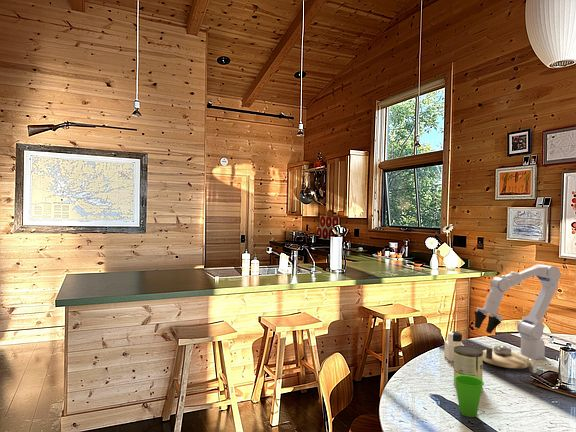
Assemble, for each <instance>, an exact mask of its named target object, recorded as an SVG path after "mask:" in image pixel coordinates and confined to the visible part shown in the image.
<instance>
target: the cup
mask: <svg viewBox="0 0 576 432" xmlns="http://www.w3.org/2000/svg"><path fill="white" fill-rule="evenodd" d="M454 380H455V382H456V387H455V389H456V393H457V395H456V396H457V400H458V401H457V402H458V408H459V413H460V414H461V415H462V416H465V417H470V418H475V417H476V416H477V414H478V411H479V406H480V401H481V396H482V390H483V389H482V388H483V386H484V385H485V382H484V380H483V379H482V380H481V379H480V378H477V377H474V376H470V375H457V376H455V377H454V376H453V381H454Z"/></svg>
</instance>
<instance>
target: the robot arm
mask: <svg viewBox="0 0 576 432" xmlns="http://www.w3.org/2000/svg"><path fill="white" fill-rule="evenodd" d="M533 277H536V278H537V279H538V281H539V282H540V283H541V285H542V286H541V288H540V291H539V292H538V295H537V297H536V300H535V301H534V304H533V306H532V307H531V310H530V311H529V314H528V315H526V316H524V317H523V318H522V320H520V321H519V322H518V324H517V329H516V330H517V332H518V333H519V336H520V352H518V353H519V354H521V355H524V356H526V357H528V358H529V359H534V360H543V359H547V358H546V356H545V353H546V352H545V351H546V350H545V348H546V346H545V341H544V339H543V338H542V337H543V336H544V335H543V334H544V328H545V324H544V323H543V318H544V316H545V314H546V312H547V310H548V308H549V305H550V304H551V301H552V299H553V297H554V295H555V293H556V291H557V289H558V285H559V280H560V279H561V277H562V273H561V271H560V268H559V267H558V266H556V265H549V264H548V265H547V264H542V263H537V264H534V265H532V266H530V267H529V268H526V269H524V270H522V271H519V272H516V271H510V272H509V273H508V274H505V275H504V274H503V275H501V276H500V277H497V276H496V277H493V278H492V279H491V280H490V282H489V285H490V288H489V292H488V296H487V298H486V301H485V303H484V306H483V308H482V307H479V306H477V307H476V309H475V310H474V312H473V313H474V317H475V318H474V319H475V320H474V328H476V329H480V328H481V327H482V324H483V322H484V321H485V319H486V318H487V317H488V322H487V327H486V330H485V332H486V333H488V334H492V333H493V332H494V330H495V329H496V328H497V327H498V326H499V325H500V324H501V323H502V320H503V315H501V314H499V313H498V311H499V307H500V305H501V302H502V300H503V298H504V295H505V292H508V291H509V290H510V289H511V288H512V287H516V286H518V285H519V284H522V282H523V280H526V279H529V278H533Z"/></svg>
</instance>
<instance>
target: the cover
mask: <svg viewBox="0 0 576 432" xmlns="http://www.w3.org/2000/svg"><path fill="white" fill-rule="evenodd" d="M493 349H494V353H495V354H497V355H501V356H511V352H512V349H511V348H510V347H507V346H506V345H502V344H501V345H498V346H494V347H493Z"/></svg>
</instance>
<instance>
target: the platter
mask: <svg viewBox="0 0 576 432" xmlns="http://www.w3.org/2000/svg"><path fill="white" fill-rule="evenodd" d="M482 351H483V361H484V362H485V363H487V364H490V365H493V366H497V367H501V368H507V369H526V368H527V369H528V368H529V366H528V365H527V362H526V361H524V360H522V359H525V360H527V359H529V358H528V357H526V356H524V355H521V354H519V353H520V352H514V351H511V356H501V355H497V354H495V353H494V348H492V347H486V349H484V350H482Z"/></svg>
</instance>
